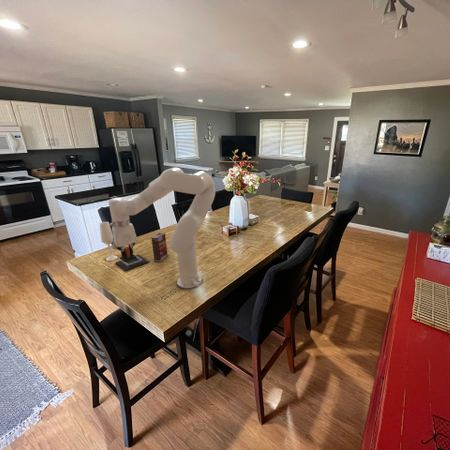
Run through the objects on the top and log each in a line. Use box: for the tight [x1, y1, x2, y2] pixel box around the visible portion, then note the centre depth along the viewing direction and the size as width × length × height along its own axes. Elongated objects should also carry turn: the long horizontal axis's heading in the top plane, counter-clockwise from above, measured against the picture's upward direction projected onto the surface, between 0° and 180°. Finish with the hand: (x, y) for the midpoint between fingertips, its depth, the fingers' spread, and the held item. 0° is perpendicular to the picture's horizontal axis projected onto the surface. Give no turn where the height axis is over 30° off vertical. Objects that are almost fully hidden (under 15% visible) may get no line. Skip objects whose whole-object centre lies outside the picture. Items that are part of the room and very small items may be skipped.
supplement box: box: [151, 232, 169, 263], centre depth 151 cm, size 9×5×16 cm, turn 168°
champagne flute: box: [99, 221, 118, 262], centre depth 149 cm, size 7×7×24 cm
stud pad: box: [119, 246, 137, 262], centre depth 123 cm, size 6×6×6 cm
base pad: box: [115, 254, 149, 272], centre depth 147 cm, size 14×14×2 cm
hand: (127, 255), depth 124 cm, fingers closed on stud pad, 2 cm apart
